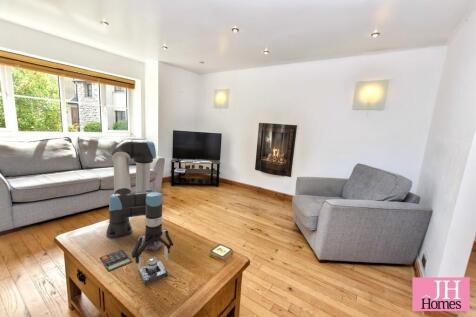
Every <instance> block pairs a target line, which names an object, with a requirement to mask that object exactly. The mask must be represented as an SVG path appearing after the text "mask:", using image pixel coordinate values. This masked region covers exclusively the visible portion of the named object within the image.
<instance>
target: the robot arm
mask: <svg viewBox="0 0 476 317" xmlns="http://www.w3.org/2000/svg"><path fill="white" fill-rule="evenodd" d="M110 158H111V161H112V162H113V189H114V192H113V193H114V194H110V195H109V204H108V206H109V207H108V211H109V212H108V215H109V216H108V217H109V218H108V220H109V221H108V222H109V223H108V226H107V229H106V232H105V234H106V235H105V236H106V237H107V238H110V239H121V238H125V237H127V236H129V235H130V234H132V232H133V226H132V225H131V222H130V218H135V217H142V216H145V229H144V230H145V234H144V235H138V238H137V242H136V244H135V245H134V248H133V250H132V252H131V258H133V259H135V263H136V265H137V269H139V270H141V267H142V254H143V253H144V251H145V249H147V248H146V247H147V246H148V245H149V244H150V243H153V242H157V241H158V240H159V241H161V242H162V245H164V251H163V252H164V254H163V256H164V257H163V258H164V259H165V261H168V260H169V259H168V258H169V256H168V255H169V254H170V249H171V248H172V246H174V243H173V241H172V238H171V237H170V235H169V230H168V229H167V228H164V229H163V224H162V223H163V204H164V200H163V194H162V193H161V192H159V191H156V190H154V189H152V188H151V189H150V183H151V182H150V181H151V180H150V179H151V165H152V163H153V162H154V160H155V159H156V158H157V151H156V145H155V143H154V142H153V141H152V140H134V139H133V140H131V139H130V140H129V139H127V140H123V141H121V142H119V143H117V144H116V146H115V147H114V148H113V149H112V151H111V156H110ZM130 160H133V162H134V164H136V165H135V167H136V168H135V192H132V184H131V176H130V174H131V173H130V163H129V162H130ZM163 235H164V236H165V237H166V239H167V241H168V243H167V241H166V240H164V239H163V237H162V236H163ZM147 241H148V242H147Z"/></svg>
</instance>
